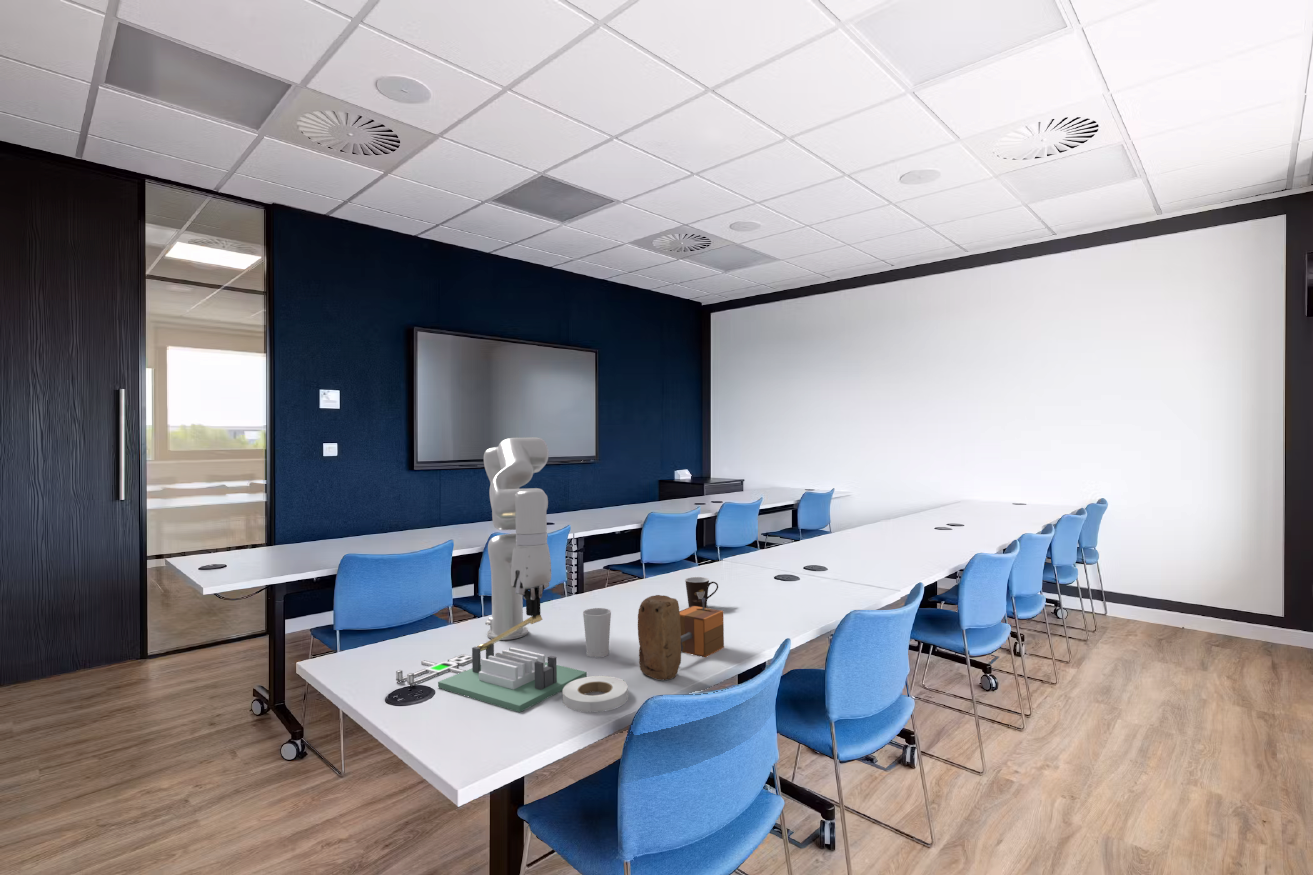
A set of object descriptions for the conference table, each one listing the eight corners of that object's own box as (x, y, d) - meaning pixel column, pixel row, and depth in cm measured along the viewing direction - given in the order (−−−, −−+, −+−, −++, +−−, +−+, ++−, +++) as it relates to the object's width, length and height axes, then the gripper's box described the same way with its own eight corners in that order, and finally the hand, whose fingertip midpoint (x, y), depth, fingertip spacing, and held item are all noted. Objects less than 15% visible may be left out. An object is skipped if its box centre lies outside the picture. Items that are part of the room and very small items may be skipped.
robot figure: (424, 692, 157) (490, 664, 176) (424, 678, 157) (490, 652, 176) (382, 680, 166) (449, 654, 185) (382, 667, 166) (449, 643, 185)
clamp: (654, 661, 176) (653, 609, 176) (693, 641, 192) (693, 594, 192) (686, 668, 169) (685, 614, 169) (724, 648, 185) (723, 598, 185)
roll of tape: (594, 719, 140) (594, 706, 140) (549, 701, 150) (549, 689, 150) (641, 697, 152) (641, 685, 152) (596, 682, 162) (596, 670, 162)
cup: (607, 659, 177) (606, 616, 177) (580, 657, 179) (579, 614, 179) (614, 649, 185) (614, 608, 185) (588, 648, 187) (588, 607, 187)
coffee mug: (684, 610, 227) (683, 582, 227) (687, 603, 235) (686, 576, 235) (717, 611, 225) (716, 582, 225) (718, 604, 233) (718, 577, 233)
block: (684, 675, 164) (683, 598, 164) (664, 684, 158) (662, 604, 159) (654, 666, 171) (652, 591, 171) (634, 673, 166) (632, 597, 166)
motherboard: (438, 687, 159) (437, 656, 159) (509, 658, 179) (508, 631, 179) (519, 712, 144) (518, 678, 144) (586, 677, 164) (586, 647, 164)
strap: (478, 654, 166) (475, 646, 167) (487, 650, 169) (484, 643, 169) (534, 622, 155) (530, 614, 156) (542, 619, 158) (539, 611, 158)
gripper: (541, 536, 166) (542, 607, 165) (498, 543, 153) (499, 620, 153) (563, 537, 162) (565, 610, 161) (521, 544, 149) (522, 623, 149)
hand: (533, 614), depth 157 cm, fingers closed
